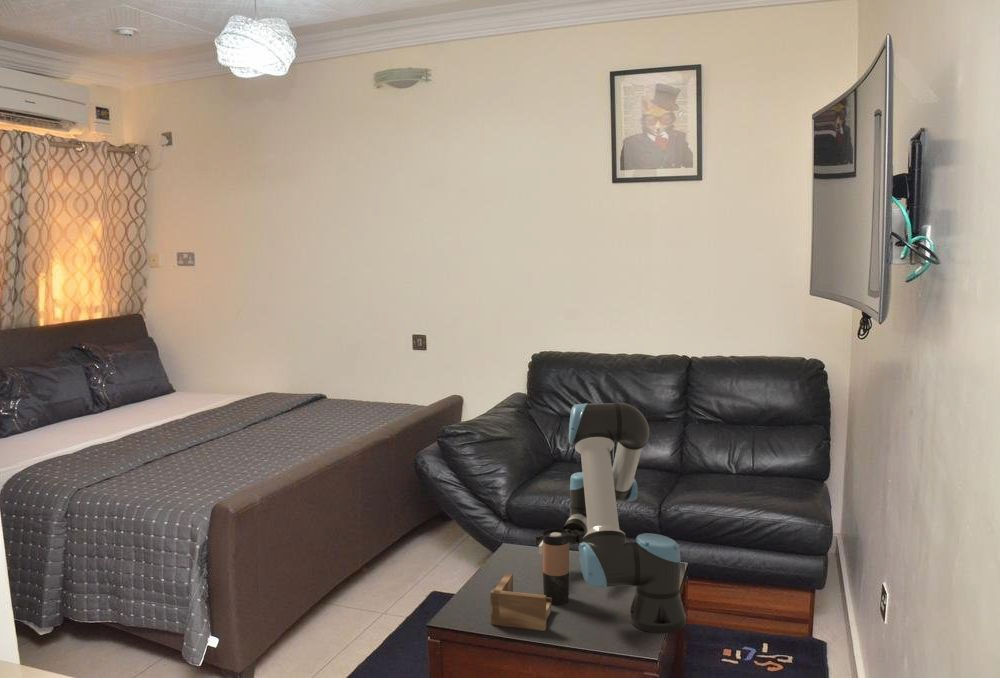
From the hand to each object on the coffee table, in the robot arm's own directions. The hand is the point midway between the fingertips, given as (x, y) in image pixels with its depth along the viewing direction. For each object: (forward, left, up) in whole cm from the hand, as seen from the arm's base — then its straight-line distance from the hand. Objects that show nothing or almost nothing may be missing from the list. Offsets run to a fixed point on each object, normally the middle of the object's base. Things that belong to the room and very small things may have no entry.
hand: (562, 552), depth 249 cm
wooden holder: (-6, +22, -11) cm, 25 cm away
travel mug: (-4, +8, -11) cm, 14 cm away
